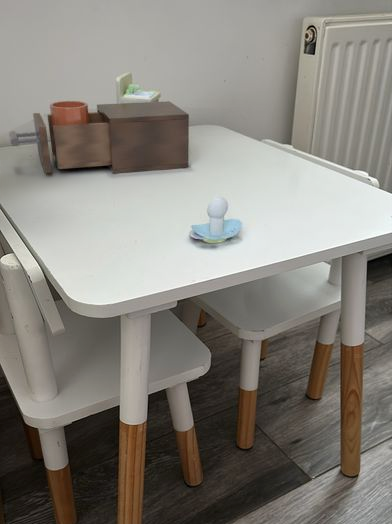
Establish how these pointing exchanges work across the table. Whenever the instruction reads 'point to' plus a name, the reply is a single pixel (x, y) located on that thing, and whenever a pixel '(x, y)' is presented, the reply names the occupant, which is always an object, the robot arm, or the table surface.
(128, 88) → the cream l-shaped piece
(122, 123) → the cabinet
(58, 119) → the cup
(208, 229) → the pacifier
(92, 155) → the drawer
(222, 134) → the table surface
